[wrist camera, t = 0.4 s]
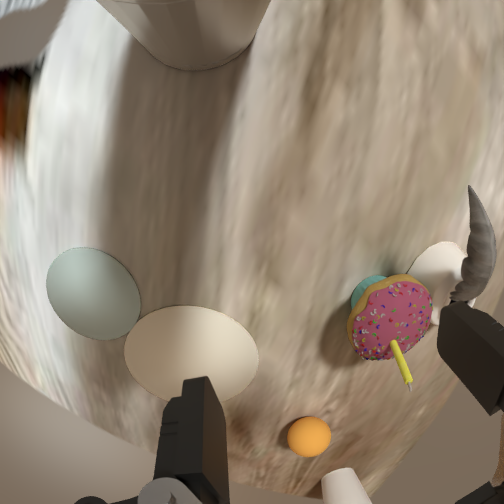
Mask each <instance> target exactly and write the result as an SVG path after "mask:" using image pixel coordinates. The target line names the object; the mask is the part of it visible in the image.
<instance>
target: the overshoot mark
mask: <svg viewBox="0 0 504 504" xmlns="http://www.w3.org/2000/svg"><path fill="white" fill-rule="evenodd" d="M46 287H47V294H48V298H49V300H50V303H51V305H52V307H53V309H54V311H55V312H56V314H57V315H58V316H59V318H60V319H61V320H62V321H63V322H64V323H65V324H66V325H67V326H68V327H70V328H71V329H72V330H74V331H75V332H77V333H79V334H81V335H83V336H85V337H88V338H92V339H96V340H112V339H116V338H119V337H121V336H124V335H125V334H127V333H128V332H129V331H130V330H131V329H132V328H133V327H134V325H135V324H136V322H137V320H138V317H139V314H140V309H141V300H140V294H139V291H138V288H137V285H136V283H135V281H134V279H133V278H132V276H131V275H130V273H129V272H128V271H127V270H126V268H125V267H124V266H123V265H122V264H121V263H120V262H118V261H117V260H116V259H114V258H113V257H112V256H110V255H108V254H106V253H104V252H102V251H99V250H96V249H92V248H73V249H70V250H67V251H65V252H63V253H62V254H60V255H59V256H58V257H57V258H56V259H55V260H54V261H53V263H52V264H51V266H50V268H49V270H48V274H47V280H46Z"/></svg>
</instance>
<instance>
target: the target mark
mask: <svg viewBox="0 0 504 504" xmlns="http://www.w3.org/2000/svg"><path fill="white" fill-rule="evenodd" d="M124 357H125V361H126V365H127V367H128V369H129V371H130V373H131V375H132V376H133V377H134V379H135V380H136V381H137V382H138V383H139V384H140V385H141V386H142V387H143V388H144V389H146V390H147V391H149V392H150V393H152V394H153V395H155V396H157V397H159V398H161V399H164V400H166V401H170V399H171V398H172V397H179V396H181V393H182V385H183V381H184V380H185V379H191V378H197V377H202V376H208V377H209V379H210V381H211V384H212V386H213V388H214V390H215V393H216V395H217V397H218V399H219V402H223V401H226V400H228V399H230V398H232V397H234V396H236V395H238V394H239V393H241V392H242V391H243V390H244V389H245V388H246V387H247V386H248V385H249V384H250V383H251V381H252V380H253V379H254V377H255V374H256V372H257V369H258V363H259V357H258V350H257V347H256V344H255V342H254V340H253V338H252V337H251V335H250V334H249V332H248V331H247V330H246V329H245V328H244V327H243V326H242V325H241V324H239V323H238V322H237V321H236V320H234V319H232V318H231V317H229V316H227V315H225V314H223V313H221V312H218V311H215V310H213V309H209V308H205V307H199V306H188V305H181V306H171V307H166V308H162V309H159V310H156V311H153V312H151V313H149V314H147V315H146V316H144V317H143V318H141V319H140V320H139V321H138V322H137V323H136V324H135V325H134V327H133V328H132V329H131V330H130V332H129V334H128V336H127V338H126V341H125V346H124Z"/></svg>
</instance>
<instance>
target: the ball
mask: <svg viewBox="0 0 504 504" xmlns="http://www.w3.org/2000/svg"><path fill="white" fill-rule="evenodd" d="M330 440H331V432H330V429H329V427H328V425H327V424H326V423H325V422H324V421H323V420H321V419H319V418H316V417H304V418H301V419H299V420H297V421H296V422H295V423H294V424H293V425H292V426H291V427H290V429H289V431H288V435H287V441H288V444H289V447H290V448H291V450H292V451H293V452H294V453H296V454H298V455H300V456H303V457H313V456H316V455H319V454H320V453H322V452H323V451H324V450H325V449H326V448H327V447H328V445H329V443H330Z"/></svg>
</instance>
